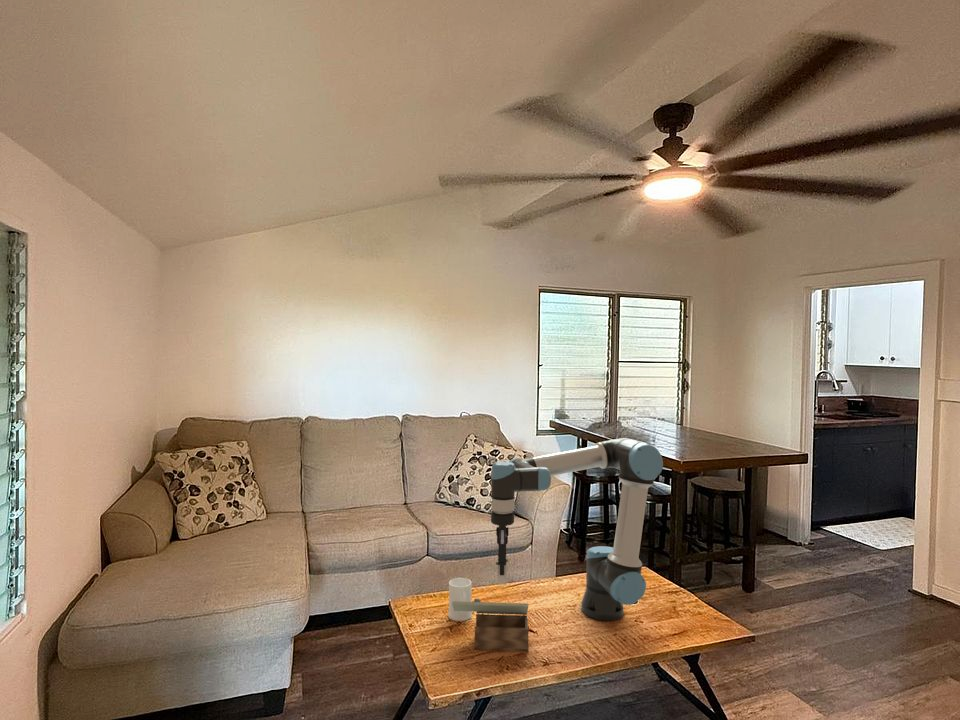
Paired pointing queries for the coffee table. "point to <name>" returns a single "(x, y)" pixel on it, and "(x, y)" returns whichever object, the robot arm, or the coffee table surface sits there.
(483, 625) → the cable box
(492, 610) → the lid
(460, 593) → the mug
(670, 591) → the coffee table surface
